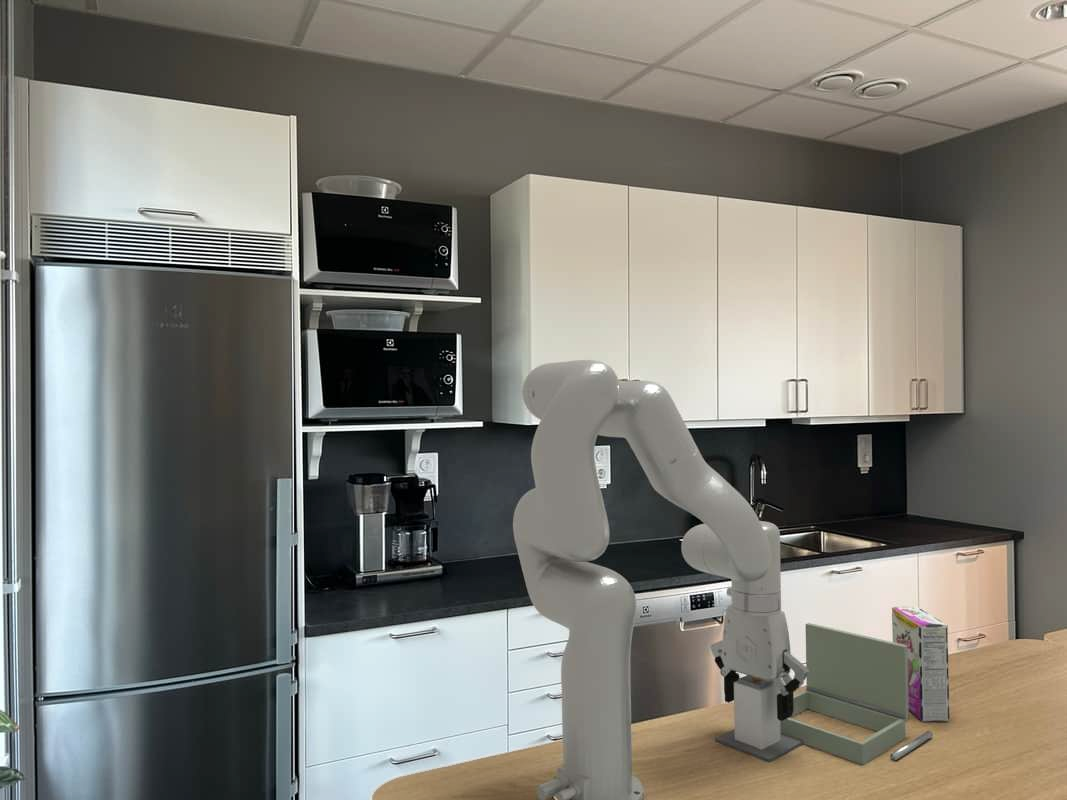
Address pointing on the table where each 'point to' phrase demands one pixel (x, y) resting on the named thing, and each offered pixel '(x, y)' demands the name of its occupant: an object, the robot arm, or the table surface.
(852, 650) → the case
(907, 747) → the rod
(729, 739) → the mat
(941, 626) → the candy bar box
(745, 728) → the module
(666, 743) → the table surface
